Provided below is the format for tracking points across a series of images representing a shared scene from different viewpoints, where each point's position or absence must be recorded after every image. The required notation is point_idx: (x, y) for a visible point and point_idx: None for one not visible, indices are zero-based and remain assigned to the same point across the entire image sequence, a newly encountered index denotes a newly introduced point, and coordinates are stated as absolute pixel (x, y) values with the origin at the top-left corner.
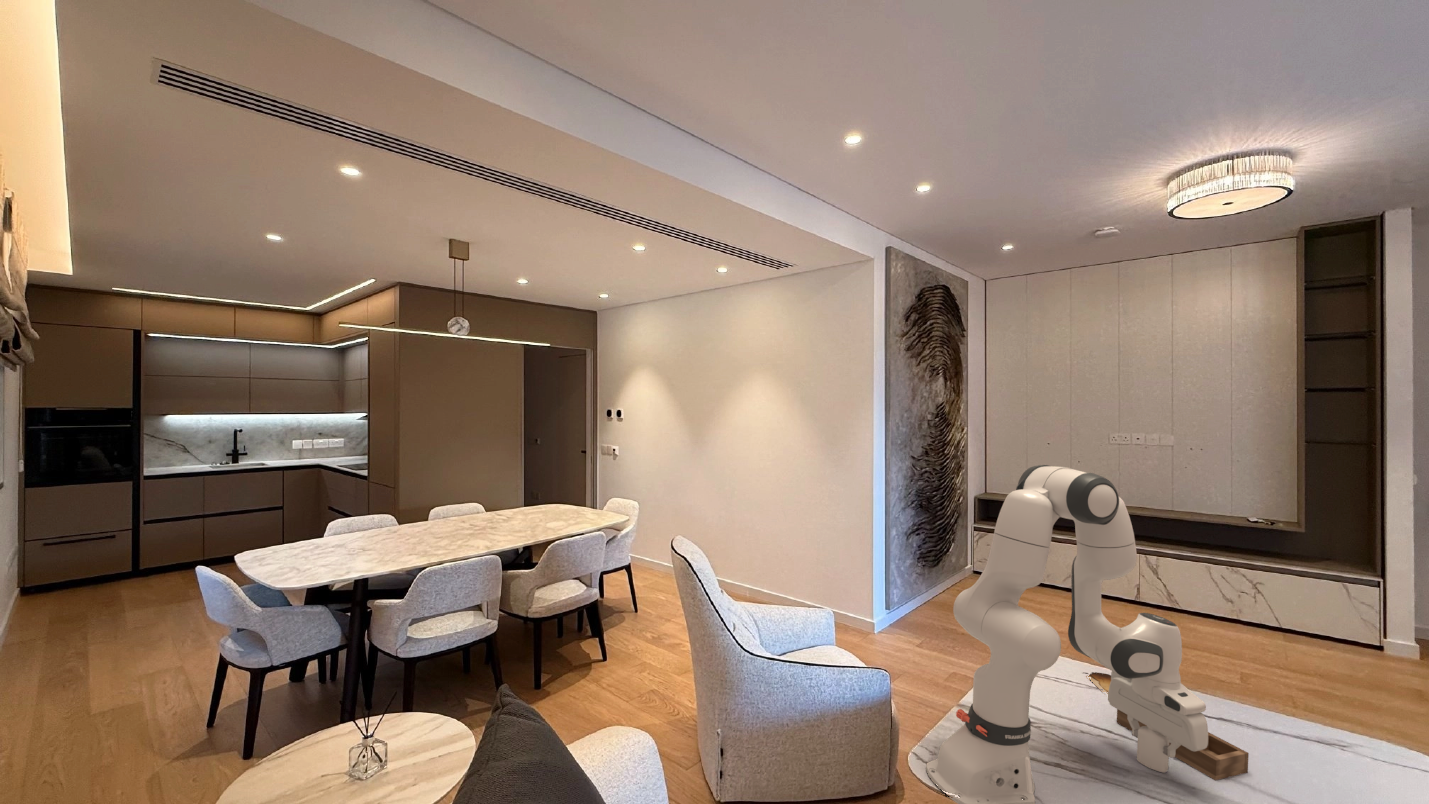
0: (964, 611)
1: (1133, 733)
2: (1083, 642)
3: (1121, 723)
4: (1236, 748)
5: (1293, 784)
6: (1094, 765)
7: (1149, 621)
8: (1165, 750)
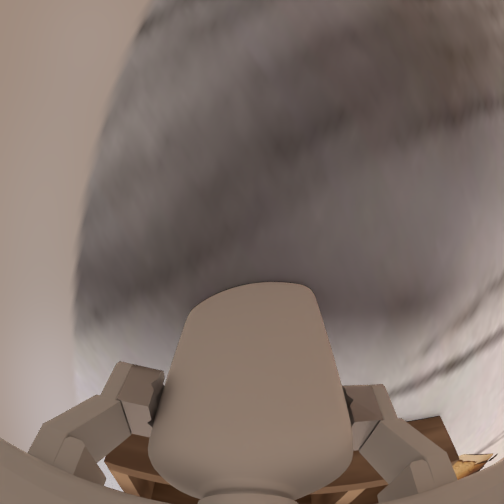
0: None
1: (378, 394)
2: None
3: (429, 423)
4: None
5: (108, 476)
6: (381, 27)
7: None
8: (135, 386)
